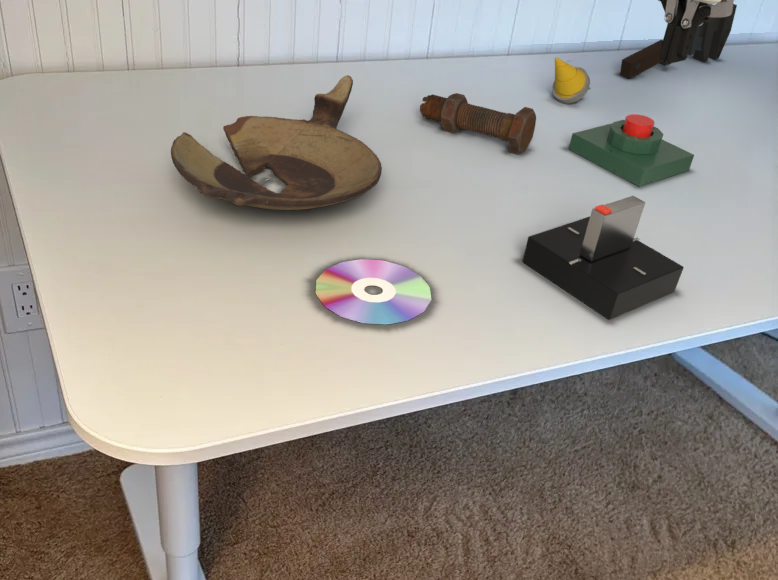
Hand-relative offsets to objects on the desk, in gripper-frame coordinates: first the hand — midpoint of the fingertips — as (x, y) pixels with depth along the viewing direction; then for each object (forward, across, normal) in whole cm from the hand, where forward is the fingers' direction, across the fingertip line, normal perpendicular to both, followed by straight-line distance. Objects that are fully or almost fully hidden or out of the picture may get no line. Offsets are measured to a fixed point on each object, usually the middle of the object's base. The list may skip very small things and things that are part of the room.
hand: (672, 59), depth 99 cm
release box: (+13, +2, +1) cm, 13 cm away
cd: (+13, -7, +49) cm, 51 cm away
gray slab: (+10, -16, +27) cm, 33 cm away
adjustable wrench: (+13, +24, -36) cm, 45 cm away
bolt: (+13, +17, +15) cm, 26 cm away
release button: (+9, +2, +1) cm, 10 cm away
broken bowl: (+13, +15, +44) cm, 48 cm away
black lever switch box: (+13, -16, +27) cm, 34 cm away
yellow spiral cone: (+13, +20, -6) cm, 24 cm away
